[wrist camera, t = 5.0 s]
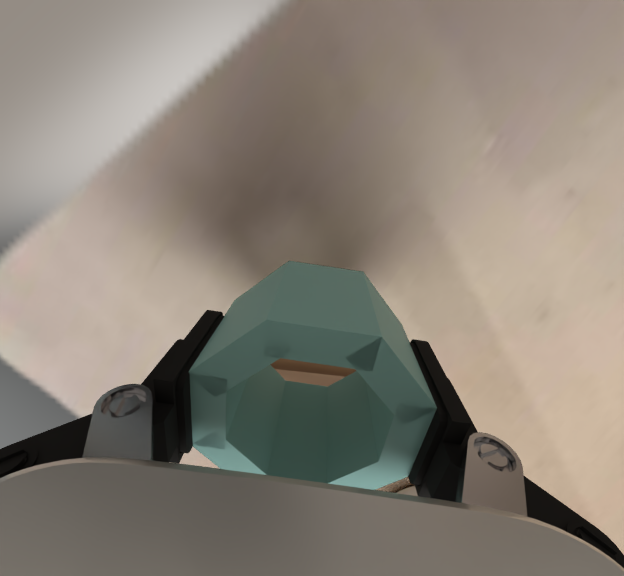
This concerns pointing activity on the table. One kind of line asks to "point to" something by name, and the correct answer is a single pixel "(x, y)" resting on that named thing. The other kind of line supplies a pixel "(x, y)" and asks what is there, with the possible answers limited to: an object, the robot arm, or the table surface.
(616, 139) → the table surface
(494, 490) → the robot arm
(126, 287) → the table surface
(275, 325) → the ring
